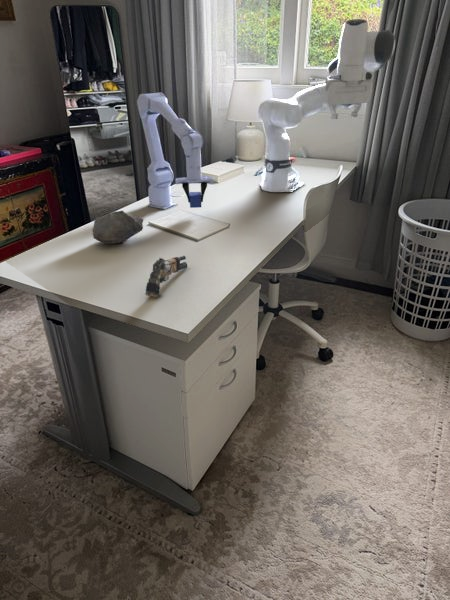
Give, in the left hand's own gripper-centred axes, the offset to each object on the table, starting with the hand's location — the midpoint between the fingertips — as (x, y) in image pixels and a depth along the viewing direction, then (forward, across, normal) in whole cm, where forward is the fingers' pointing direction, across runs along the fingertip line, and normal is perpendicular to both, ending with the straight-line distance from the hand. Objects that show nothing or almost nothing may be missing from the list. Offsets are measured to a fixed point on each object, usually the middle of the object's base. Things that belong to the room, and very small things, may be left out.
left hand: (195, 201), depth 168 cm
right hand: (-30, +56, -1) cm, 63 cm away
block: (+2, 0, 0) cm, 2 cm away
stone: (+6, -26, -25) cm, 37 cm away
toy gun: (+6, -7, -58) cm, 58 cm away
